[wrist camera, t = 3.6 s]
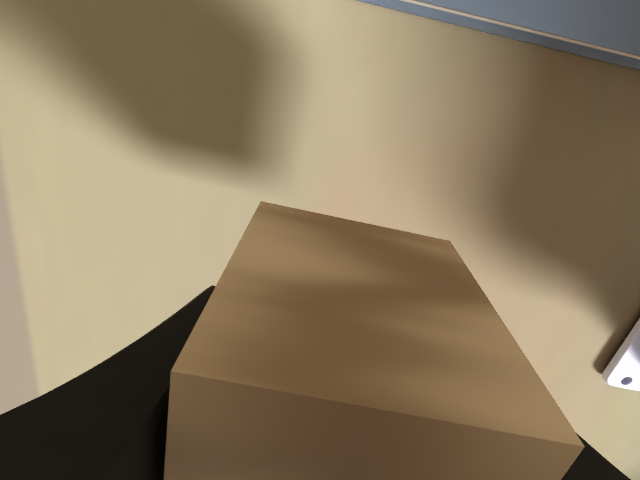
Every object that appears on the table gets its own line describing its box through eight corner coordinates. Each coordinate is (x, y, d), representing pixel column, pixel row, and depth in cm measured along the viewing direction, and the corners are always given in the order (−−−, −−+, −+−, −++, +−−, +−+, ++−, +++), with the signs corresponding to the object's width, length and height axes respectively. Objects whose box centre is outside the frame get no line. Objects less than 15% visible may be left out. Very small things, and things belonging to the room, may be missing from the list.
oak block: (449, 241, 10) (583, 446, 5) (395, 382, 12) (444, 640, 7) (260, 201, 10) (170, 371, 4) (237, 353, 12) (155, 597, 6)
